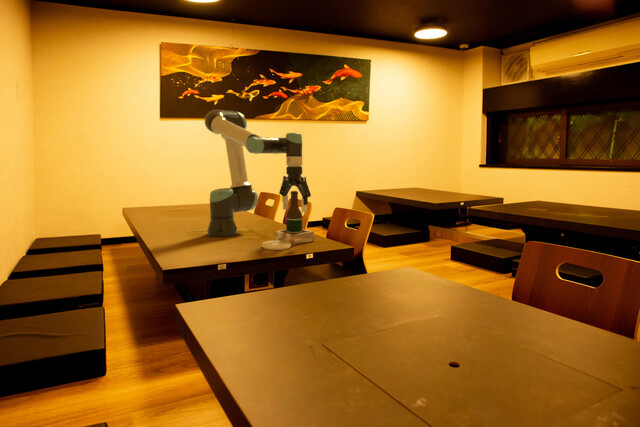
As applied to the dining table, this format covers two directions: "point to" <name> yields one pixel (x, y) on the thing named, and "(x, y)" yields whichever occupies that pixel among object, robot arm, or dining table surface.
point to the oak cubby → (294, 236)
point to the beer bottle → (294, 216)
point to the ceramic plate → (276, 245)
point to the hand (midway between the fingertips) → (294, 210)
